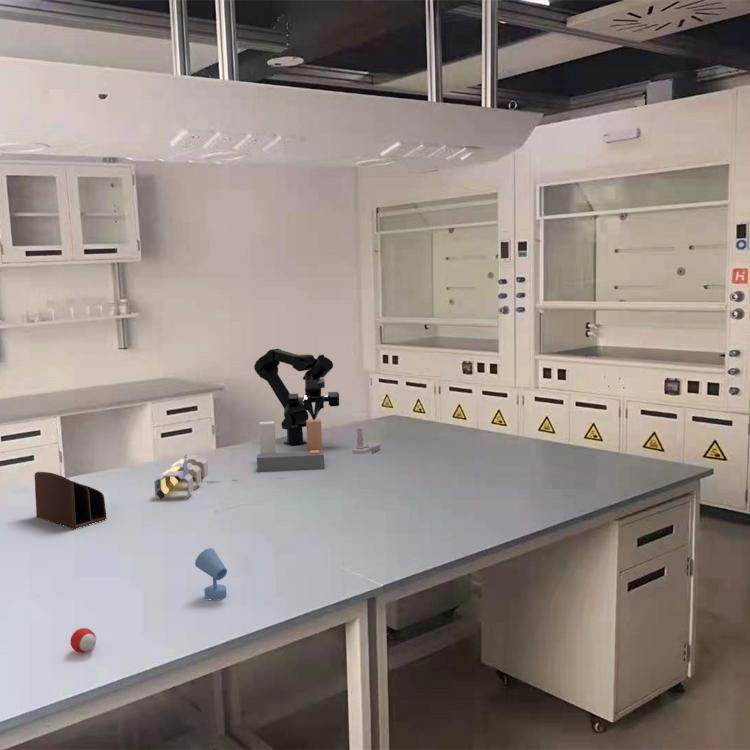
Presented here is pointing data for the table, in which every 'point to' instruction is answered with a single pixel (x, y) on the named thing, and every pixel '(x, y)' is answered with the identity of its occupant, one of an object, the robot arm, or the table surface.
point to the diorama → (182, 475)
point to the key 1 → (267, 437)
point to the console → (290, 461)
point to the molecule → (83, 640)
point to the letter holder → (67, 501)
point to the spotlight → (212, 573)
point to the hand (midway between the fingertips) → (314, 419)
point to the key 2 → (314, 435)
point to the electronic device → (366, 447)
